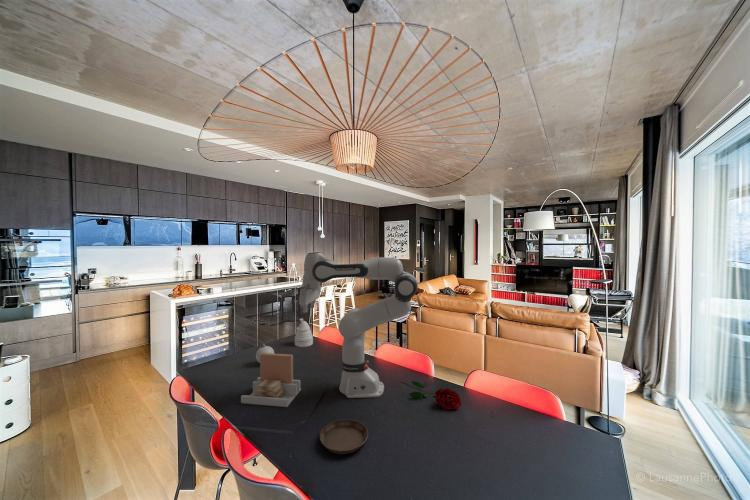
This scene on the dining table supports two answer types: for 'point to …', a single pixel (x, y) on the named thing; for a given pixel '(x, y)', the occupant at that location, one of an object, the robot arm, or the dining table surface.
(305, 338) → the honey pot
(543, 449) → the dining table surface
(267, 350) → the ornament
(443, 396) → the flower
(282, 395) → the offcut bottom
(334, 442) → the plant saucer
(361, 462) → the dining table surface
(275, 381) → the offcut top
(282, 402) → the rack
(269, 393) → the offcut middle
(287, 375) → the brown square panel
